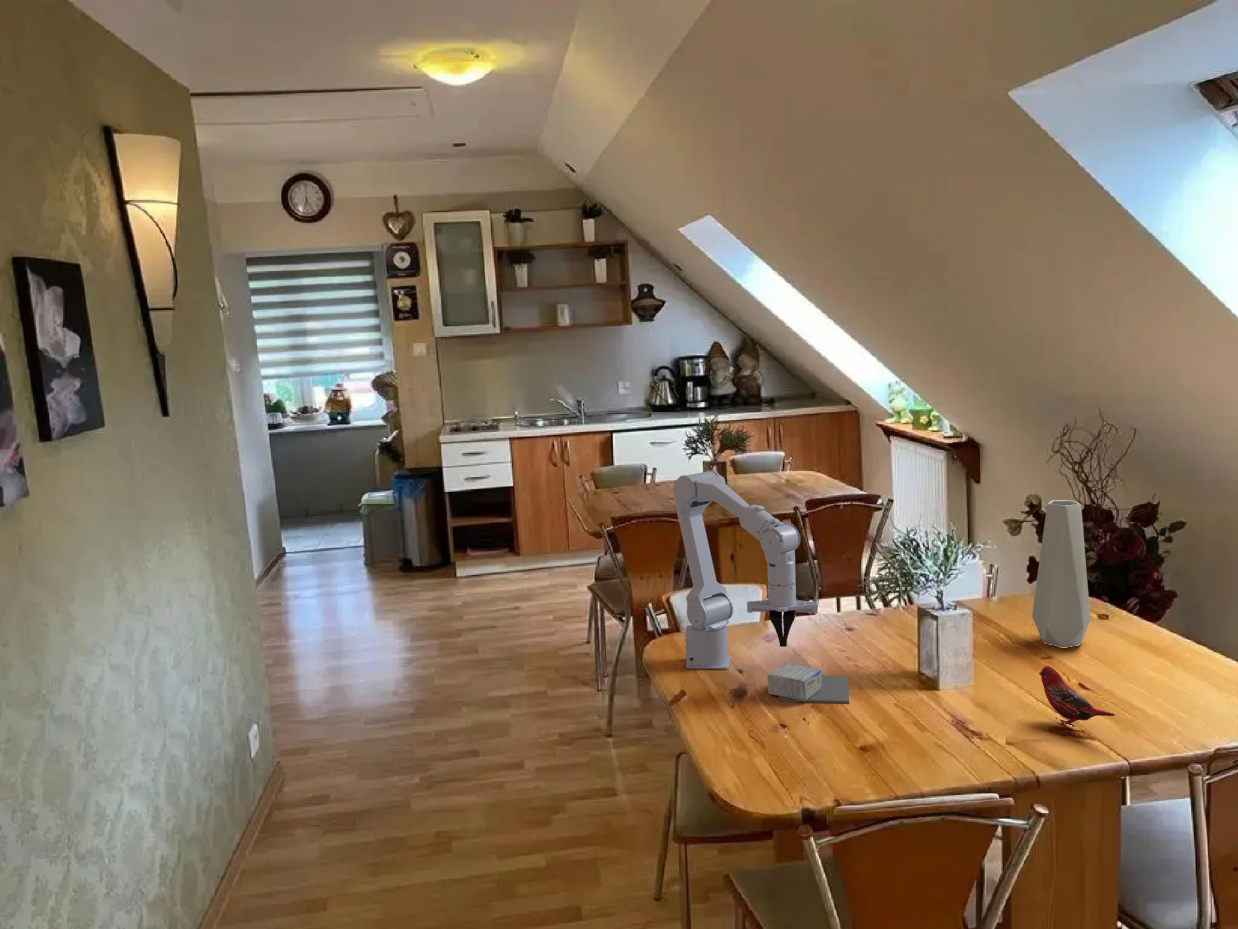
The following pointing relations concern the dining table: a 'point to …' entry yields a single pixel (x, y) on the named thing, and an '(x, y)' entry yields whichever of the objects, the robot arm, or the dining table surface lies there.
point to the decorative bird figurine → (1067, 698)
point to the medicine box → (794, 681)
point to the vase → (1062, 577)
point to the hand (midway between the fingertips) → (783, 645)
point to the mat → (828, 691)
